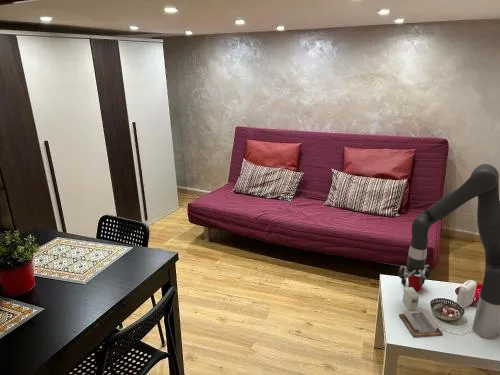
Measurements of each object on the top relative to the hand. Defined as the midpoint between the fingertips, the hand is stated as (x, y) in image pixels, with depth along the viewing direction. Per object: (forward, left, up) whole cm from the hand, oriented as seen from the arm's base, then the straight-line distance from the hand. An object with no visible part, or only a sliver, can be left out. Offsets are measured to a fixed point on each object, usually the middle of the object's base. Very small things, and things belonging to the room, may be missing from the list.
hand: (412, 284), depth 173 cm
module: (0, 0, -12) cm, 12 cm away
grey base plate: (+2, +14, -11) cm, 18 cm away
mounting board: (+2, +14, -12) cm, 19 cm away
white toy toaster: (-27, +1, -12) cm, 30 cm away
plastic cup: (-9, -13, -12) cm, 20 cm away
